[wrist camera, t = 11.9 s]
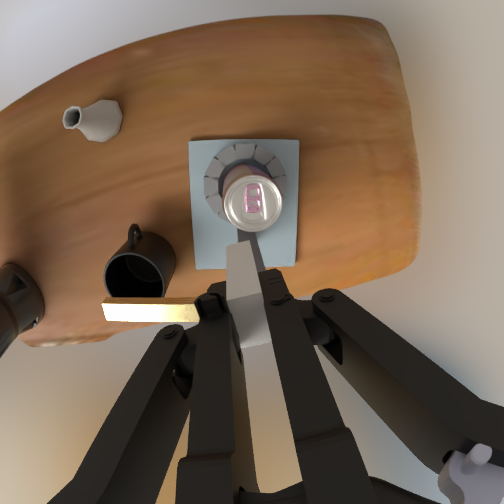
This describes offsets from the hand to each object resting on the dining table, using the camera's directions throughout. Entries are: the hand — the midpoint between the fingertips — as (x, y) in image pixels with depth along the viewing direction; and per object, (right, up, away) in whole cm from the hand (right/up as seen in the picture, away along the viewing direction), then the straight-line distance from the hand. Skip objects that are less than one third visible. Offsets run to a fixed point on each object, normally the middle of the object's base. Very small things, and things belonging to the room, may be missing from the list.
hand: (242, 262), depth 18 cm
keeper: (-5, -4, +7) cm, 9 cm away
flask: (-23, +21, +18) cm, 36 cm away
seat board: (-1, +8, +25) cm, 26 cm away
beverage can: (-1, +11, +23) cm, 25 cm away
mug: (-16, +1, +27) cm, 31 cm away
